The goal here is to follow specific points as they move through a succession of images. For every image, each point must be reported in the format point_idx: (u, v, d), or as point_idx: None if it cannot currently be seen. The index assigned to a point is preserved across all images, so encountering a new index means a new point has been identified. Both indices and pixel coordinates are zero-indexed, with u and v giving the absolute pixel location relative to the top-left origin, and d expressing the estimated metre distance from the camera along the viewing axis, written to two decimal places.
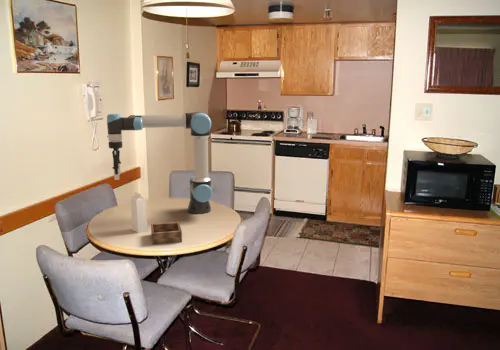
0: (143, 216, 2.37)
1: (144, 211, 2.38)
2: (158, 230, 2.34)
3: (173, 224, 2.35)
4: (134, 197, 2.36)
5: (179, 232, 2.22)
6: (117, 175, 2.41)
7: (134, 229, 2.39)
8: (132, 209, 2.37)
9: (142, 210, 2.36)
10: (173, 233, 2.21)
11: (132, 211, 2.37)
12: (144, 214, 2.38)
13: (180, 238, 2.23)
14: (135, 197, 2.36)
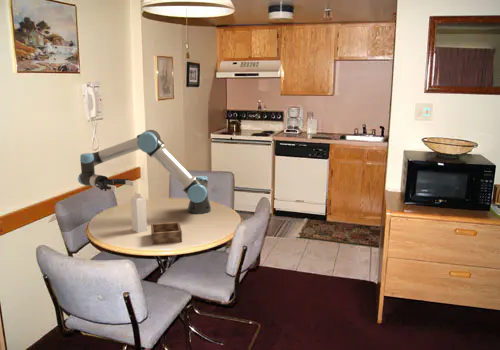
0: (143, 216, 2.37)
1: (144, 211, 2.38)
2: (158, 230, 2.34)
3: (173, 224, 2.35)
4: (134, 197, 2.36)
5: (179, 232, 2.22)
6: (111, 187, 2.35)
7: (134, 229, 2.39)
8: (132, 209, 2.37)
9: (142, 210, 2.36)
10: (173, 233, 2.21)
11: (132, 211, 2.37)
12: (144, 214, 2.38)
13: (180, 238, 2.23)
14: (135, 197, 2.36)
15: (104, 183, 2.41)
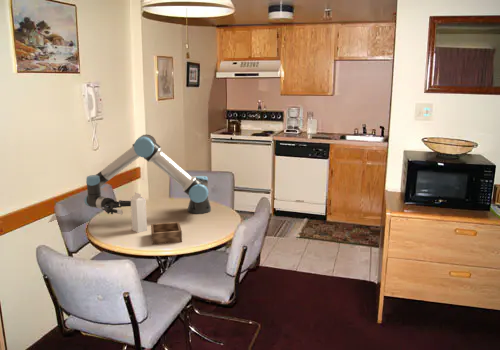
0: (143, 216, 2.37)
1: (144, 211, 2.38)
2: (158, 230, 2.34)
3: (173, 224, 2.35)
4: (134, 197, 2.36)
5: (179, 232, 2.22)
6: (118, 210, 2.36)
7: (134, 229, 2.39)
8: (132, 209, 2.37)
9: (142, 210, 2.36)
10: (173, 233, 2.21)
11: (132, 211, 2.37)
12: (144, 214, 2.38)
13: (180, 238, 2.23)
14: (135, 197, 2.36)
15: (110, 206, 2.41)
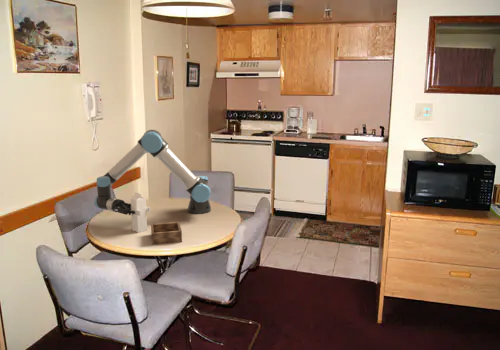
0: (143, 216, 2.37)
1: (144, 211, 2.38)
2: (158, 230, 2.34)
3: (173, 224, 2.35)
4: (134, 197, 2.36)
5: (179, 232, 2.22)
6: (136, 212, 2.33)
7: (134, 229, 2.39)
8: None
9: (142, 210, 2.36)
10: (173, 233, 2.21)
11: None
12: (144, 214, 2.38)
13: (180, 238, 2.23)
14: (135, 197, 2.36)
15: (125, 207, 2.38)
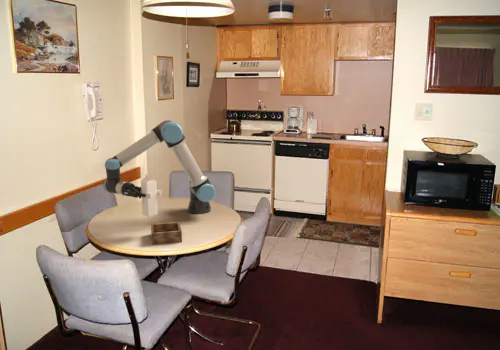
0: (153, 199, 2.28)
1: (155, 194, 2.28)
2: (158, 230, 2.34)
3: (173, 224, 2.35)
4: (144, 179, 2.26)
5: (179, 232, 2.22)
6: (146, 194, 2.23)
7: (144, 213, 2.29)
8: None
9: (153, 193, 2.26)
10: (173, 233, 2.21)
11: None
12: (155, 197, 2.28)
13: (180, 238, 2.23)
14: (145, 179, 2.26)
15: (135, 190, 2.28)
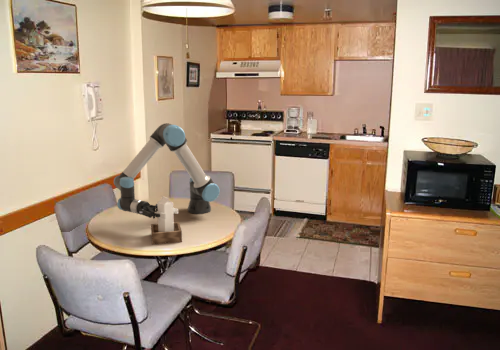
0: (170, 221, 2.26)
1: (171, 216, 2.26)
2: None
3: None
4: (161, 201, 2.24)
5: (179, 232, 2.22)
6: (161, 214, 2.20)
7: None
8: None
9: (169, 215, 2.25)
10: (173, 233, 2.21)
11: None
12: (171, 219, 2.26)
13: (180, 238, 2.23)
14: (162, 201, 2.24)
15: (150, 210, 2.25)
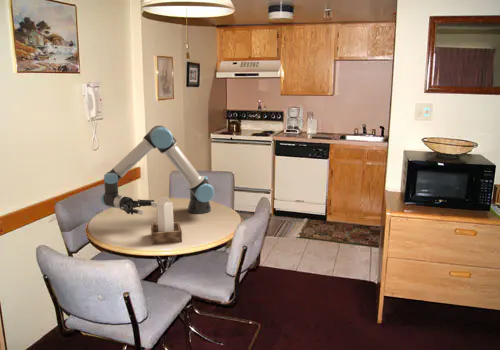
0: (170, 221, 2.26)
1: (171, 216, 2.26)
2: None
3: None
4: (161, 201, 2.24)
5: (179, 232, 2.22)
6: (139, 211, 2.26)
7: None
8: (159, 214, 2.25)
9: (169, 215, 2.25)
10: (173, 233, 2.21)
11: (159, 216, 2.25)
12: (171, 219, 2.26)
13: (180, 238, 2.23)
14: (162, 201, 2.24)
15: (130, 206, 2.32)
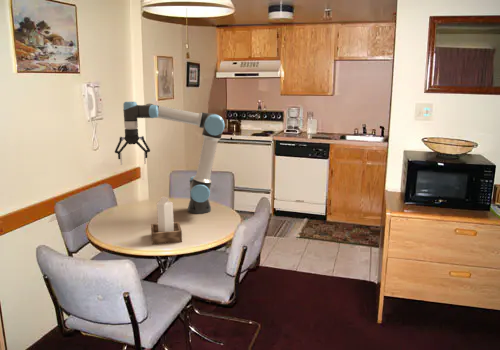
0: (170, 221, 2.26)
1: (171, 216, 2.26)
2: None
3: None
4: (161, 201, 2.24)
5: (179, 232, 2.22)
6: (120, 160, 2.49)
7: None
8: (159, 214, 2.25)
9: (169, 215, 2.25)
10: (173, 233, 2.21)
11: (159, 216, 2.25)
12: (171, 219, 2.26)
13: (180, 238, 2.23)
14: (162, 201, 2.24)
15: (123, 146, 2.47)
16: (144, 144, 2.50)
